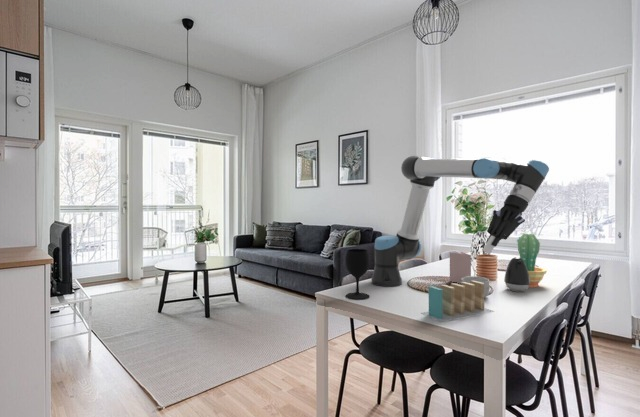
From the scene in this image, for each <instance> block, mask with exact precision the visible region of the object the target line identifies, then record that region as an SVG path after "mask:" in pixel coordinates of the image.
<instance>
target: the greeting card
mask: <svg viewBox="0 0 640 417" xmlns="http://www.w3.org/2000/svg"><path fill="white" fill-rule="evenodd" d="M466 276H472V255H471V254H469V253H467V252H466V253H465V252H462V251H460V253H457V252H449V282H450V281H452V282H451V283H453V282H457V283H456V284H458V283H461V282H462V280H461V279H462V278H463V277H466Z"/></svg>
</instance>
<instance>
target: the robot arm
mask: <svg viewBox="0 0 640 417" xmlns="http://www.w3.org/2000/svg"><path fill="white" fill-rule="evenodd" d="M400 168H401V173H402V175H403V176H404V177H405V178H406V179H407V180H409V183H410V184H411V188H410V192H409V197H408V201H407V204H406V209H405V211H404V217H403V220H402V224H401V228H400V229H399V230H397V231H396V235H381V236H379V237H378V236H377V237H376V238H375V240H374V246H373V247H374V268H373V272H372V276H371V279H370V280H371V282H370V283H371V284H373V285H375V286H380V287H397V286H401V285H403V279H402V277H401V273H400V269H399V261H404V260H411V259H414V258H416V257H418V256H419V255H420V253H421V251H422V243H421V241H420V235H419V230H420V226H421V223H422V218H423V214H424V212H425V207H426V204H427V199H428V195H429V193H430V189H433V188H434V185H435V183H436V182H437V181H439V179H440V178H441V177H442V178H463V179H465V178H470V179H483V180H484V179H486V180H490V179H491V180H493V179H494V180H503V181H508V182H510V183H511V182H512V183H515V184H514V186H513V187H512V188H511V190H510V192H509V194H508V195H507V197H506V198H505V200H504V201H503V206H502V207H501V208H500V209H498V210H496V209H494V210H493V211H492V217H491V219H490V223H489V225H488V227H487V230H486V231H487V233H488V234H489V236H488V238H487V240H486V242H485V245H484V247H483V249H482V251H483V252H484V253H486V254H487V255H491V254H492V252H493V250H494V248H495V247H497V246H498V245H499V243H500V241H502V240H505V241H506V240H507V239H508V238H509V237H510V236H511V235H512V234H513V233H514V232H515V230H516V229H517V228H518V227H519V226H520V225H521V224H523V223H524V222H525V221H526V220H525V218H523V217H522V215H523V213H524V212H525V211H526V209H527V207H528V206H529V204H530V203H531V201H532V200H533V198H534V196H535V195H536V194H537V191H538V190H539V188H540V187H541V185H542V183H544V181H545V179H546V177H547V176H548V175H547V174H548V173H549V171H550V167H549V166H548V164H547V163H545V162H543V161H541V160H537V159H532V160H530V161H528V162H527V163H526V164H523V163H518V162H515V161H510V160H507V159H503V158H492V157H481V158H433V157H430V156H429V157H428V156H418V155H411V156H408V157H406V158H405V159H404V160H403V162H402V163H401V167H400Z"/></svg>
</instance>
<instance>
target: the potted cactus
mask: <svg viewBox="0 0 640 417" xmlns="http://www.w3.org/2000/svg"><path fill="white" fill-rule="evenodd" d="M516 243H517V250H518V254H519V258H521V259H522V260H523V261H524V262H525V264H526V267H527V270H528V273H529V278H530V284H529V287H528V288H537V287H539V284H540V282H541V281H542V280H543V279H544V276H545V275H546V274H547V269H546V268H543V267H542V268H541V267H537V266H536V262H537V256H538V254H539V253H540V245H541V242H540V240H539V239H538V238H537V236H536V235H535V234H532V233H523V234H522V235H520V236H519V237H518V239H516Z"/></svg>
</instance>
